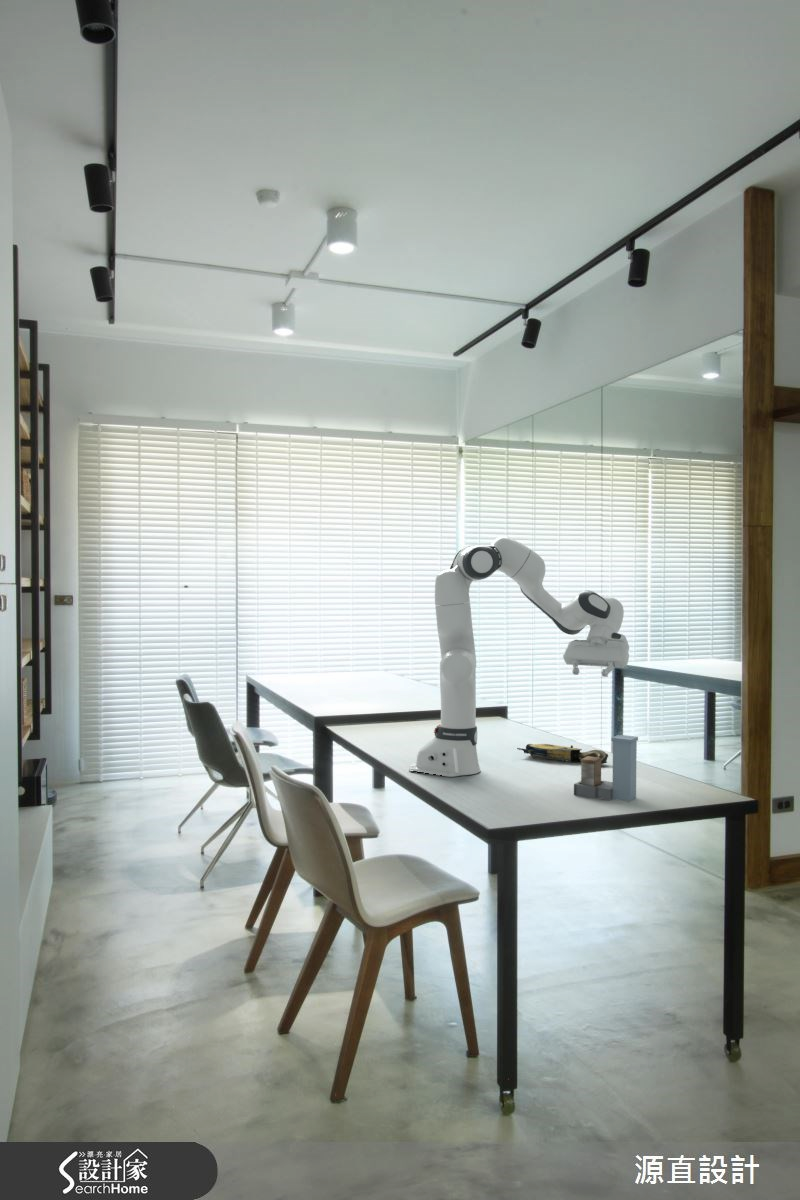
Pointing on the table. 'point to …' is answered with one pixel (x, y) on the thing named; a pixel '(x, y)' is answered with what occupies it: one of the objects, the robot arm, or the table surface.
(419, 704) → the table surface
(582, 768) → the brown rectangular block
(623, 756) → the grey l-shaped post
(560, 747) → the pulley block
